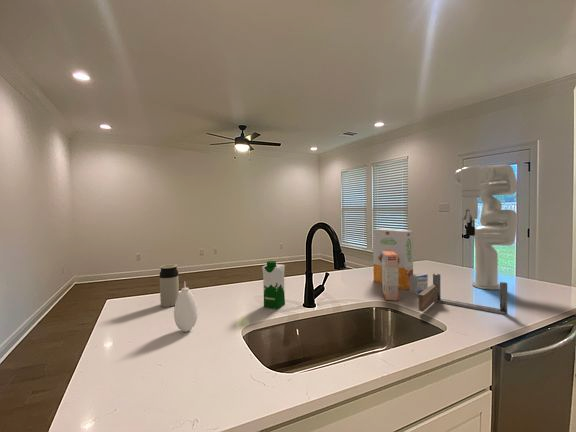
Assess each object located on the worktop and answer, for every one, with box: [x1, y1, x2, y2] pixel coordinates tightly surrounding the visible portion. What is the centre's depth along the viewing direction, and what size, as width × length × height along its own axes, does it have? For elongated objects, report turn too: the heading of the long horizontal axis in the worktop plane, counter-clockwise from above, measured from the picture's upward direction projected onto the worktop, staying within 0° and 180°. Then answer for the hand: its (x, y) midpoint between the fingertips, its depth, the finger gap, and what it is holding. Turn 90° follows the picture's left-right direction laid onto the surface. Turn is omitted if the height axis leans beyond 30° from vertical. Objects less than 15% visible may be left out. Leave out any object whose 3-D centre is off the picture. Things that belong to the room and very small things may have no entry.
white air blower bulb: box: [173, 281, 199, 333], centre depth 105 cm, size 8×8×18 cm
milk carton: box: [261, 260, 286, 310], centre depth 130 cm, size 9×9×20 cm
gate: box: [417, 283, 438, 312], centre depth 123 cm, size 2×20×6 cm, turn 138°
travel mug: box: [159, 263, 180, 308], centre depth 135 cm, size 8×8×18 cm
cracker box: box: [381, 251, 399, 302], centre depth 140 cm, size 14×6×21 cm, turn 168°
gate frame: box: [432, 273, 508, 315], centre depth 124 cm, size 4×27×12 cm, turn 48°
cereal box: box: [372, 228, 414, 291], centre depth 162 cm, size 22×6×30 cm, turn 26°
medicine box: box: [409, 273, 429, 295], centre depth 147 cm, size 8×4×9 cm, turn 117°
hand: (470, 235), depth 133 cm, fingers closed
